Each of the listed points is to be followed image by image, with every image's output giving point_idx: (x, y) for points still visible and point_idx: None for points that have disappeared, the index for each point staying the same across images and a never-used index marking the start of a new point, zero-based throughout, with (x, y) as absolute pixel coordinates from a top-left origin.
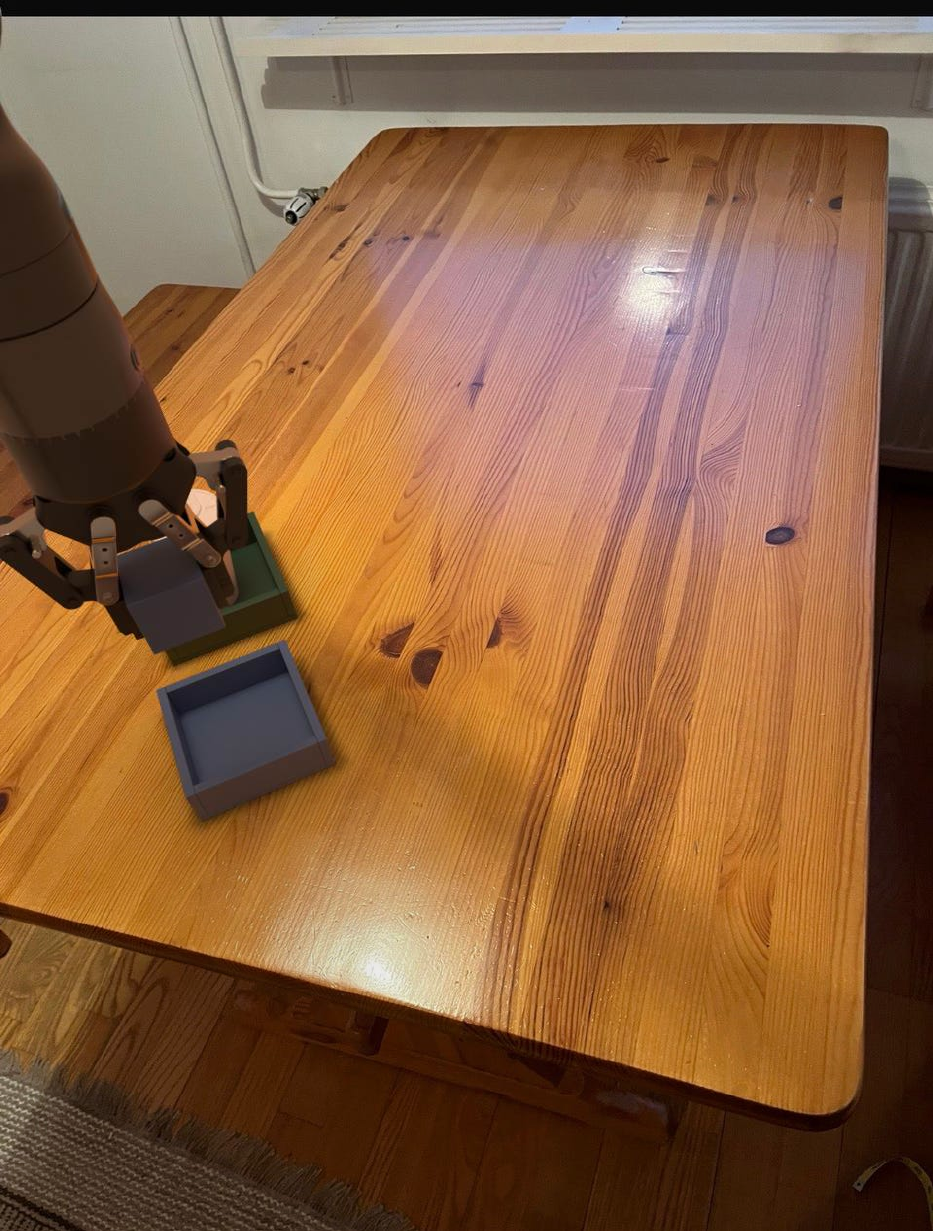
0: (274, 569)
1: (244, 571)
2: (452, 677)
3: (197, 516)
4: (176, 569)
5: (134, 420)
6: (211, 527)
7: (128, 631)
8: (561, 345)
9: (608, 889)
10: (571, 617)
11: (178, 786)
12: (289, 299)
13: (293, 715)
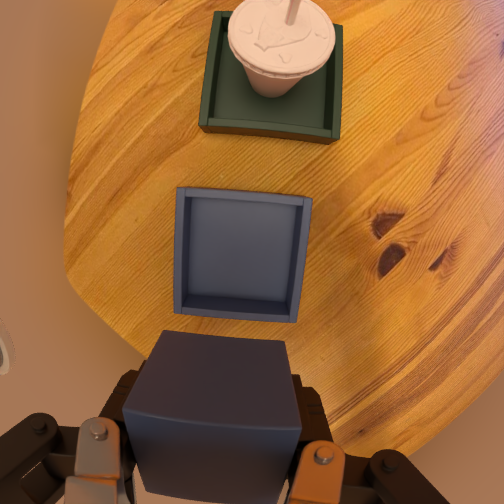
0: (337, 104)
1: None
2: (398, 280)
3: (301, 41)
4: (242, 487)
5: None
6: (347, 491)
7: None
8: None
9: (367, 426)
10: (472, 275)
11: (173, 259)
12: None
13: (281, 251)
